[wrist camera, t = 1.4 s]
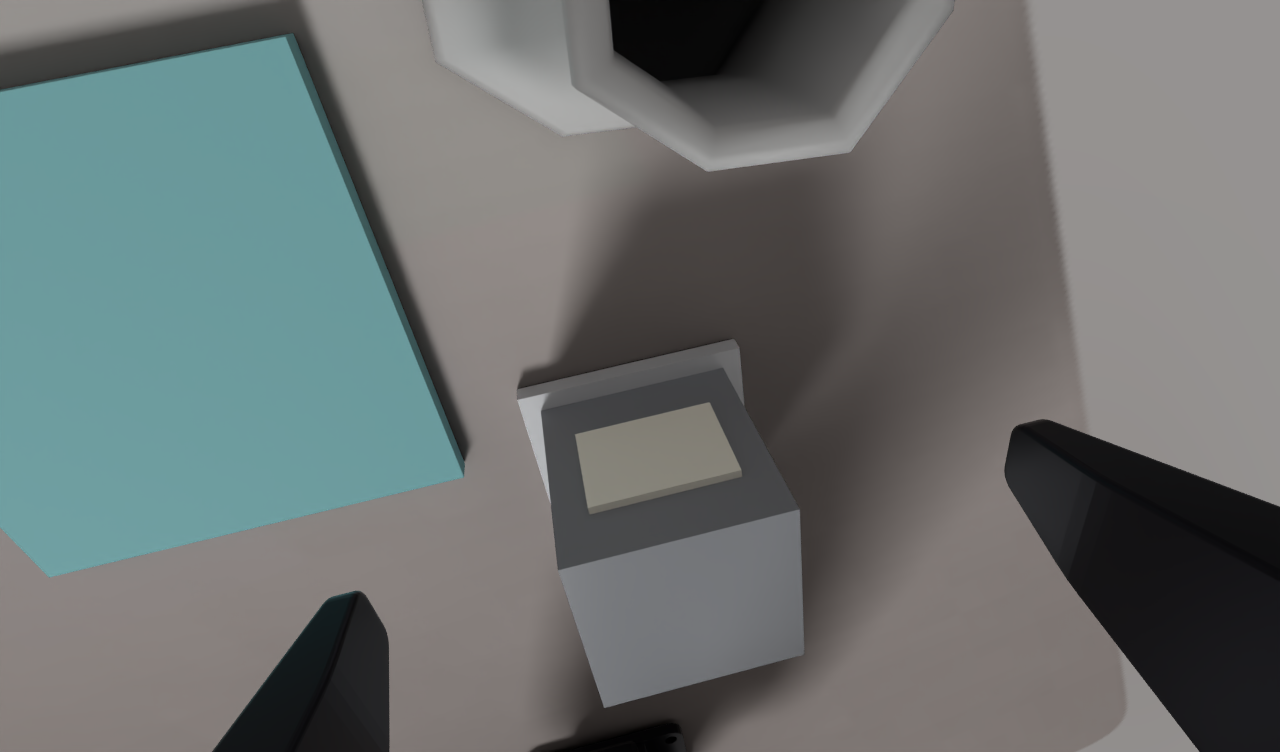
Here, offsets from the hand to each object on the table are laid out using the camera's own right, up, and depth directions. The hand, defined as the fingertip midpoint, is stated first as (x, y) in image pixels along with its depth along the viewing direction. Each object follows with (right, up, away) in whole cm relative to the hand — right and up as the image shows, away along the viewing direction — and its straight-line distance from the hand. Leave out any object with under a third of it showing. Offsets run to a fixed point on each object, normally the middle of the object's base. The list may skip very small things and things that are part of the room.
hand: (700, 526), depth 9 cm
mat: (-12, +3, +6) cm, 14 cm away
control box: (-1, 0, +11) cm, 11 cm away
